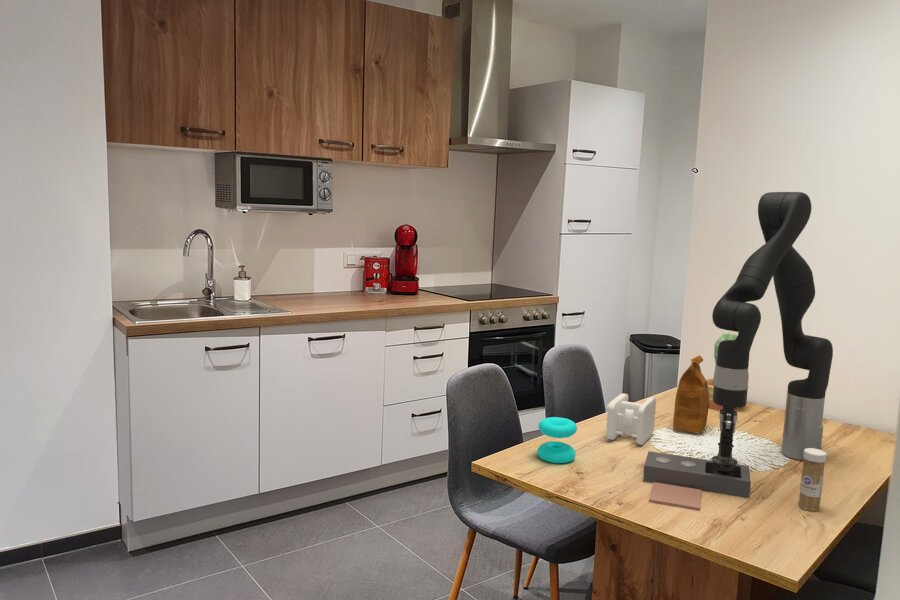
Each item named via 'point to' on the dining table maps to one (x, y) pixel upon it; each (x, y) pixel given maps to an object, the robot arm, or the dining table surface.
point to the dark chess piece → (724, 462)
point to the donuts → (554, 449)
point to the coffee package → (691, 400)
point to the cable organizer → (630, 418)
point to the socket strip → (695, 474)
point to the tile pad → (675, 496)
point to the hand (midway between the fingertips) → (725, 453)
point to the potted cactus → (711, 380)
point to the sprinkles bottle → (812, 479)
